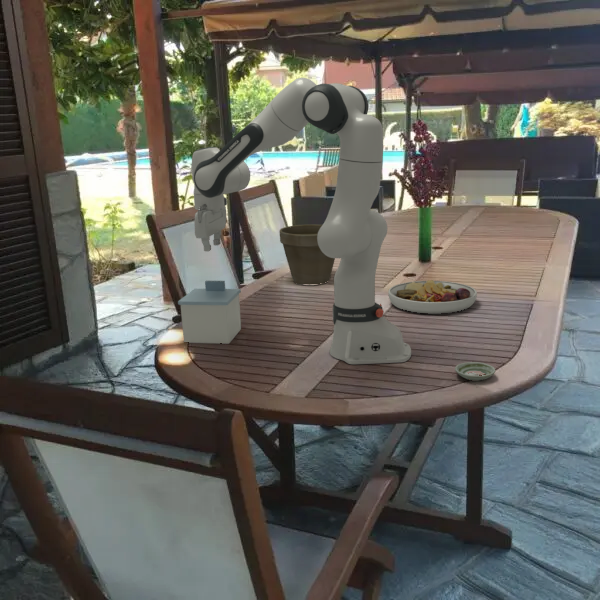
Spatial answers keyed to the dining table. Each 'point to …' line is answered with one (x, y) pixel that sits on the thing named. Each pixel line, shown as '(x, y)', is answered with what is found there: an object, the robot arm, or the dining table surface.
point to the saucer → (475, 366)
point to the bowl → (432, 296)
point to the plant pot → (305, 254)
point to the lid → (210, 295)
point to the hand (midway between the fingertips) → (212, 248)
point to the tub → (211, 322)
